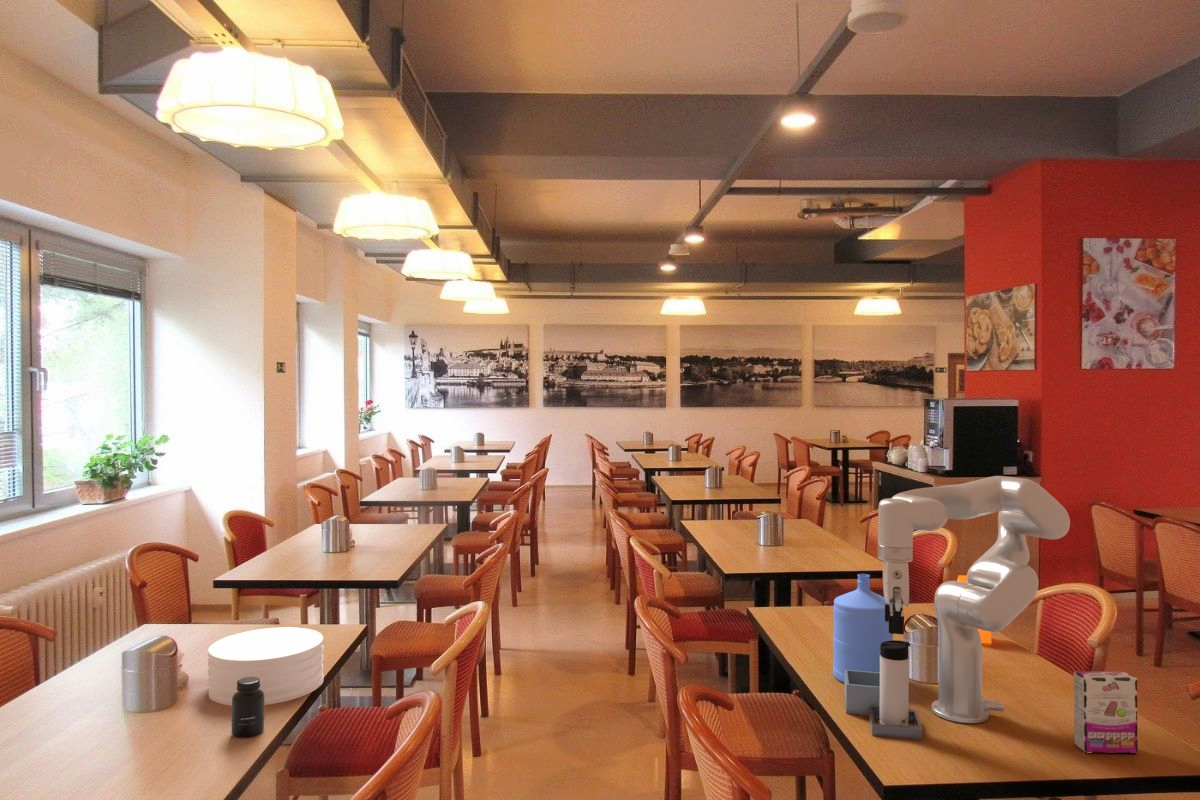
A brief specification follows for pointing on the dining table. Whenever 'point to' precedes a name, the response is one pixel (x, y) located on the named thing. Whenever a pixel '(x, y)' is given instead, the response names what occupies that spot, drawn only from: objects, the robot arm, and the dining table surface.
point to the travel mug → (894, 683)
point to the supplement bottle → (248, 708)
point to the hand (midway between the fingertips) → (894, 627)
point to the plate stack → (267, 663)
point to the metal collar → (892, 730)
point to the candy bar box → (1105, 712)
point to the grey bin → (861, 691)
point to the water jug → (859, 630)
